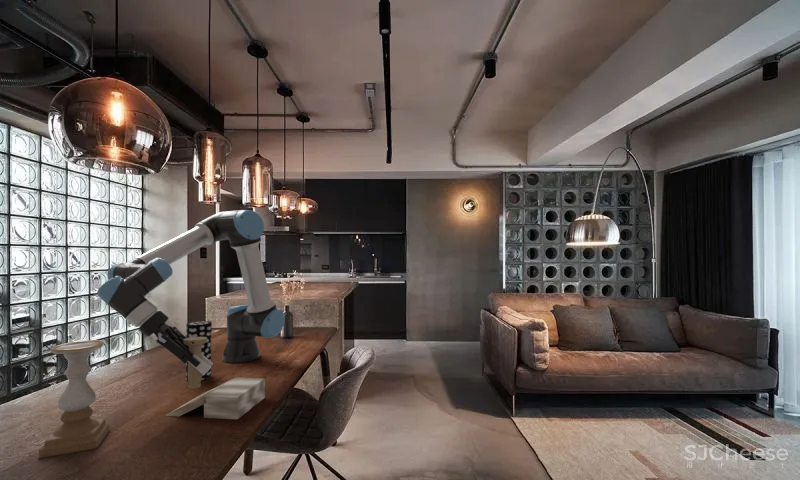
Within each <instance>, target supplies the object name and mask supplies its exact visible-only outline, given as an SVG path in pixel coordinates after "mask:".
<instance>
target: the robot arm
mask: <svg viewBox="0 0 800 480" xmlns="http://www.w3.org/2000/svg"><path fill="white" fill-rule="evenodd" d="M264 231H265V224H264V221H263V218H262V217H261V215H260V214H259V213H258V212H256V211H254V210H252V209H239V210H237V209H235V210H229V211H228V210H225V211H220V212H218V213H214V214H212V215H210V216H209V217H207V218H205V219H203V220H201V221H198V222H197V223H196V224H194V227H193V228H191V229H190V230H189V229H188V230H187V231H186V232H183V233H181V234H180V235H178V236H175V237H174V238H172V239H170V240H168V241H165V242H164V243H162V244H161V245H160V244H159V245H158V246H157V247H154V248H152V249H151V250H148V251H146V252H145V253H143V254H141V255H139V256H137V257H135V258H132V259H130V260H128V261H127V262H124V263H123V262H122V263H116V264H114V265H112V266H111V267H110V268H109V269H108V271H107V279H108V280H106V281H105V282H104V283H103V284H102V285H101V286H100V287H99V288H98V289H97V291H96V294H97V296H98V297H99V298H100V299H101V300H102V301H103V302H104V303H105V304H106V305H107V306H109V307H110V308H111V309H113V310H114V311H115V312H116V313H118V314H119V315H120V316H122V317H123V318H124V319H125V320H126V321H128V322H127V324H128V325H133V326H134V327H135V328H138V331H139V332H140V333H142V334H143V335H144V336H146V338H147V337H150V336H151V335H153V334H154V336H155V337H156V338H157V339H156V340H155V341H156V343H157V344H159V345H161V346H162V347H163V348H165V349H167V351H168V352H170V353H171V354H173V356H175V357H176V358H178V359H179V360H180V361H181V362H182V364H186V362H188V363H190V364H191V365H192V366H193V367H194V368H196V369H197V370H198V371H199V372H201V373H202V374H203V375H205V374H206V373H207V372H208V371H209V370H210V369H211V370H212V366H213V365H214V363H213V362H212V360H211V361H210V360H208V359H207V358H206V357H205V356H204V355H203V354H201V356H202V360H201V359H200V358H199V357H198V356H197V355H196V354H194V355H193V354H192V353H191V352H190V351H189V346H187V345H185V344H184V343H183V340H184V339H185V338H186V336H185V335H184V334H183V333H182V332H181V331H180V330H179V329H178V328H177V327H176V326H170V325H168V324H167V323H166V322H168V320H169V316H168V315H166V314H165V313H164V312H163V311H161V310H159V308H158V307H157V306H156V305H155V304H153V303H152V302H151V301H150V300H149V299H148V298H146V296H147V295H148V294H150V293H152V291H154V290H155V289H156V288H158V287H159V286H161V285H162V284H163V283H165V282H166V281H167V280H168V279H169V278H170V277H172V275H173V272H174V271H173V268H172V266H171V265H172V264H173V263H175V262H176V261H179V260H180V259H182V258H184V257H186V256H188V255H189V254H191V253H193V252H195V251H196V250H198V249H200V248H202V247H203V246H210V245H213V244H215V243H216V242H219V241H227V240H228V241H229V245H230V248H232V249H234V251H235V252H236V255H237V261H238V265H239V268H240V273H241V277H242V281H243V284H244V289H245V293H246V297H247V300H248V303H247V304H241V305H235V306H230V307H228V308H227V313H226V314H227V315H226V344H225V346H224V349H223V353H222V361H223V362H225V363H233V364H234V363H238V364H239V363H246V362H251V361H255V360H257V359H260V356H261V350H260V348H259V345H258V341H257V339H256V338H257V337H262V338H264V339H267V338H270V339H271V338H275V337H277V336H278V335H279V334H280V333H281V332H282V331H283V327H284V326H285V323H286V321H285V320H286V319H285V318H286V317H285V313H284V312H283V310H281V309H278V308H277V304H276V301H274V300H273V299H271V295H270V291H269V286H268V283H267V279H266V278H267V277H266V273H265V270H264V269H265V268H264V264H263V261H262V256H261V252H260V247H259V245H260V243H261V241H262V236H263V234H264Z"/></svg>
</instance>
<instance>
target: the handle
mask: <svg viewBox="0 0 800 480" xmlns="http://www.w3.org/2000/svg"><path fill="white" fill-rule="evenodd" d="M206 342H207V337H190V338H185V339H184V340H183V343H184V344H185V345H187V346H189V351H190V352H191V353H192V354H193V355H194V354H196V355H197V356H198V357H199V358H200V359H201V360H202V356H201V346H202V345H203V344H204V343H206ZM201 378H202V373H201V372H199V371H198V370H197V369H196V368H194V367H193V366H192V365H191V364H190V363H188V380H187V381H188V389H193V390H195V389H198V388H200V387H201V385H202V380H201Z"/></svg>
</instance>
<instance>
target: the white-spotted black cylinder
mask: <svg viewBox="0 0 800 480" xmlns="http://www.w3.org/2000/svg"><path fill="white" fill-rule="evenodd" d="M212 323H213V322H212V321H209V320H201V321H192V322H188V323H187V322H186V324H185V325H186V326H185V327H186V329H185V330H186V331H185V332H186V334H185V335H186V336H185V337H186V338H190V337H207V342H206V343H204V344H203V345H202V346H201V354H203V355H204V356H205V357H206V358H207V359H208V360H210V361H211V362H212V332H213V331H212V327H213V326H212V325H213V324H212ZM211 377H212V368H211V369H210V370H209V371H208V372H207V373H206V374H205V375H203V374H202V378H201V381H204V380H207V379H209V378H211ZM185 380H186V381H188V362H186V363H185Z"/></svg>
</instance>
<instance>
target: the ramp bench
mask: <svg viewBox="0 0 800 480" xmlns="http://www.w3.org/2000/svg"><path fill="white" fill-rule="evenodd" d="M265 387H266V378H263V377H262V378H259V377H257V378H256V377H234V378H232V379H229V380H227V381H225V382H223V383H222V384H220V385H217V386H216V387H214V388H211V389H209V390H208V391H205V392H203V393H202V394H199V395H198V396H196V397H195V398H193V399H191V400H189V401H187V402H186V403H184V404H182V405H180V406H179V407H177V408H176V409H174V410H172V411H171V412H168V413H167V414H165V415H164V416H165V417H167V416H168V417H181V416H183V415H185V414H186V413H189V412H191V411H192V410H195V409H197V408H199V407H200V406H203V418H204V419H206V418H207V419H224V420H238V419H240V418H241V417H242V416H244V415H245V414H246V413H248V412H249V411H250V410H252V408H254V407H255V406H256V405H258V404H259V403H260V402H262V400H264V399H265V398H266V391H265V390H266V388H265Z"/></svg>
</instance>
